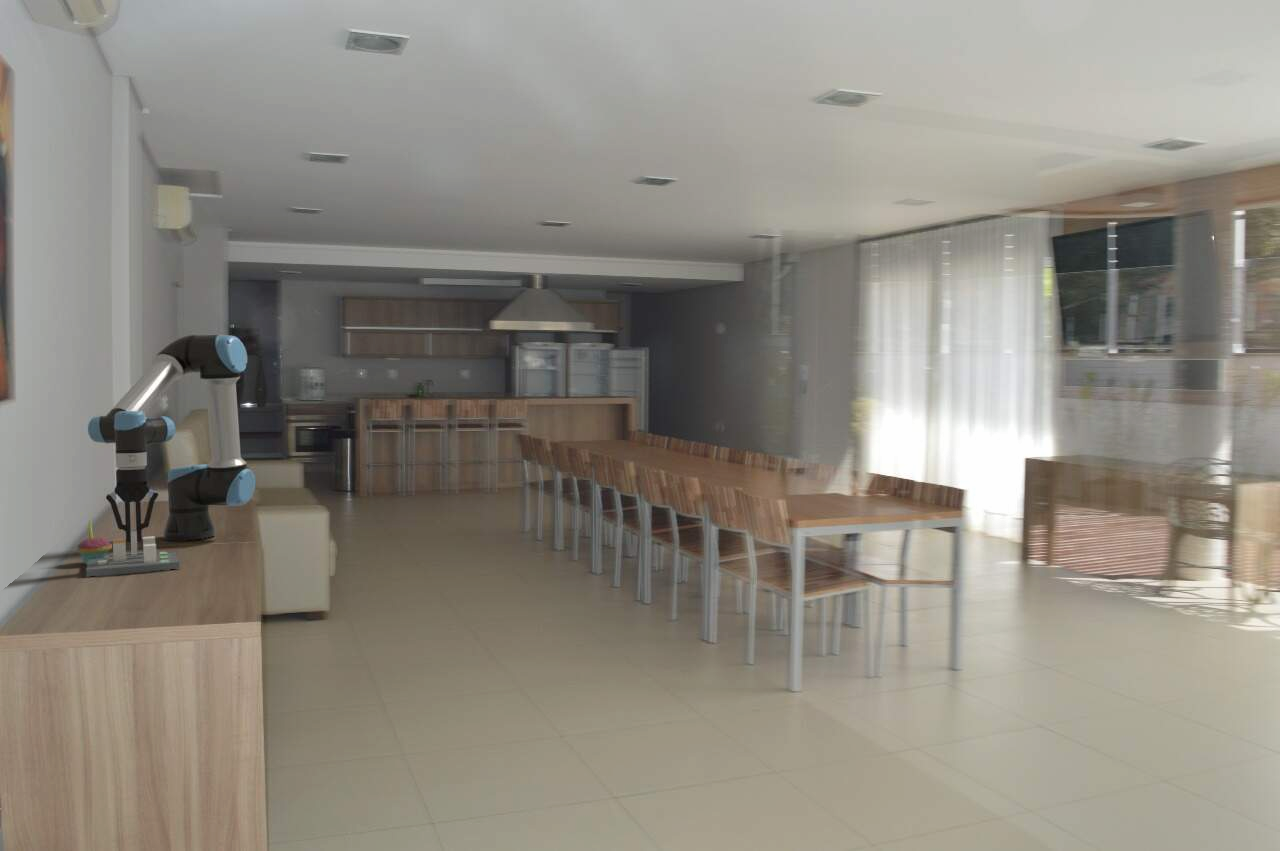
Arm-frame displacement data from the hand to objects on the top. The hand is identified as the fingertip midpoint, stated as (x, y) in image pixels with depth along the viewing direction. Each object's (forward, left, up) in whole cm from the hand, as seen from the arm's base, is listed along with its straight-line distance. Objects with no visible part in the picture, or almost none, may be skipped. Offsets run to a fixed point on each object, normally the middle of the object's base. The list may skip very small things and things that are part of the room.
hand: (134, 554), depth 268 cm
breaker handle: (0, -3, -2) cm, 4 cm away
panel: (0, 0, -4) cm, 4 cm away
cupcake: (-12, -10, -4) cm, 16 cm away
